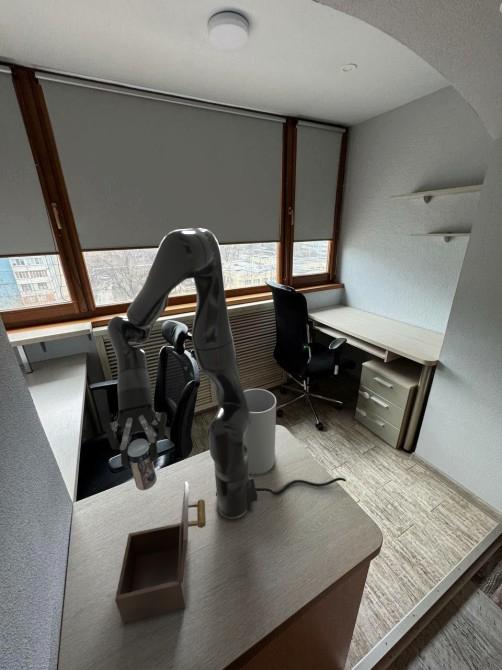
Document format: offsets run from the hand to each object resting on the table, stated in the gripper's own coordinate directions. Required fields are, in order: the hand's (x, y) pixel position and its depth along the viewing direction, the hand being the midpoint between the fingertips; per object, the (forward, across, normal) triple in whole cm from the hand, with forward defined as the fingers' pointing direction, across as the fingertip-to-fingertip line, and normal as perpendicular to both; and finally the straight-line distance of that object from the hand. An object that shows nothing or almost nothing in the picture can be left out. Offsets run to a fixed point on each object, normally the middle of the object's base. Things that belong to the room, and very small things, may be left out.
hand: (140, 464), depth 60 cm
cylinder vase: (+8, +33, +29) cm, 45 cm away
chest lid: (+15, +7, 0) cm, 16 cm away
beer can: (+5, 0, +7) cm, 9 cm away
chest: (+25, 0, +11) cm, 28 cm away
